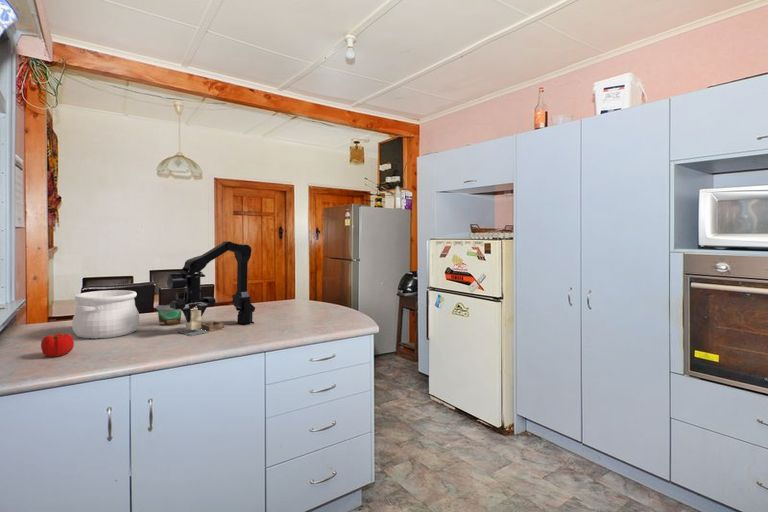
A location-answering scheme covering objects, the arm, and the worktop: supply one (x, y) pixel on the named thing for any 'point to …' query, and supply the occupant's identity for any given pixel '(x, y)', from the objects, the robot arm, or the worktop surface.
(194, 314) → the birch block
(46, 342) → the tomato
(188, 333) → the slate mat
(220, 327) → the walnut pocket
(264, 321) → the worktop surface
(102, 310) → the pot
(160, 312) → the food container
